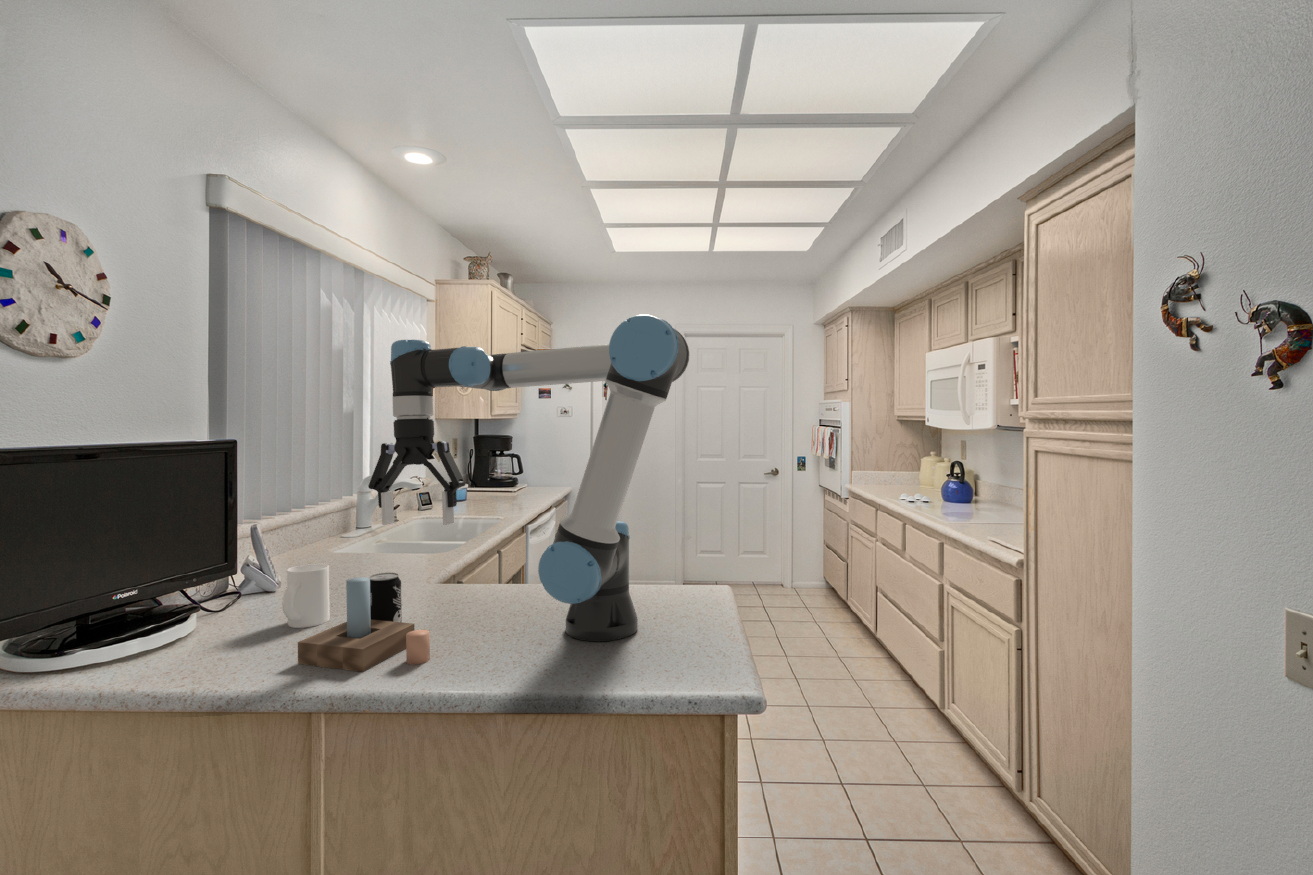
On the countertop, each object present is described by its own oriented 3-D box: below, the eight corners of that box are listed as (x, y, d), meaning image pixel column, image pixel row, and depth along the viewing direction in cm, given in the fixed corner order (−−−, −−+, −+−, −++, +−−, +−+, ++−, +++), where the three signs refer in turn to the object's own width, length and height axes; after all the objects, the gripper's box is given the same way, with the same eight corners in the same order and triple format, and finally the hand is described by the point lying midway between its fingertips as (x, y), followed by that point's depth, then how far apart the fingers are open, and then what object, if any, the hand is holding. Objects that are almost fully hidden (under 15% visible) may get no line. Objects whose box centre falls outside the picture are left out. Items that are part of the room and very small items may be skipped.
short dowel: (434, 657, 112) (434, 630, 112) (420, 665, 108) (420, 638, 108) (415, 655, 113) (415, 628, 113) (401, 663, 109) (401, 636, 109)
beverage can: (388, 639, 121) (387, 580, 121) (359, 637, 122) (358, 579, 122) (408, 629, 128) (407, 572, 127) (380, 627, 129) (380, 571, 129)
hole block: (414, 643, 119) (414, 623, 119) (363, 671, 105) (362, 649, 105) (355, 637, 123) (354, 618, 122) (297, 664, 109) (297, 642, 109)
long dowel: (375, 650, 115) (374, 577, 115) (360, 658, 112) (359, 583, 111) (358, 648, 116) (357, 576, 116) (342, 656, 113) (341, 581, 112)
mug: (265, 634, 125) (264, 576, 124) (301, 615, 137) (300, 563, 136) (304, 634, 124) (303, 576, 124) (337, 616, 136) (336, 563, 136)
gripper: (479, 416, 122) (484, 520, 122) (371, 420, 127) (376, 520, 127) (460, 415, 114) (464, 526, 115) (346, 420, 120) (351, 526, 120)
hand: (418, 523), depth 121 cm, fingers open, 13 cm apart
